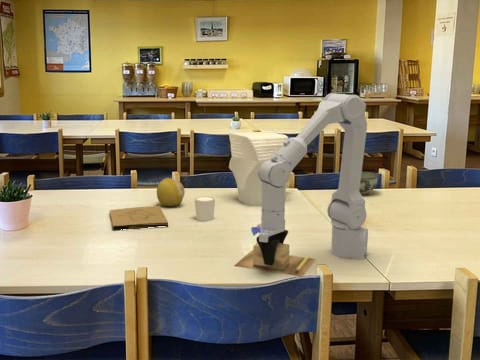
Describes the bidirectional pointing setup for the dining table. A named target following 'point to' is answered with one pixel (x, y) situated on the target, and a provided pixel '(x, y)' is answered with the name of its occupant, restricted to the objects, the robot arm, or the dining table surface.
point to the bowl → (368, 182)
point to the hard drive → (255, 230)
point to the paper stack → (252, 161)
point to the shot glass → (204, 208)
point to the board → (293, 264)
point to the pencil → (302, 264)
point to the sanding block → (279, 262)
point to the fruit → (170, 192)
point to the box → (137, 218)
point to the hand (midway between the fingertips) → (272, 261)
